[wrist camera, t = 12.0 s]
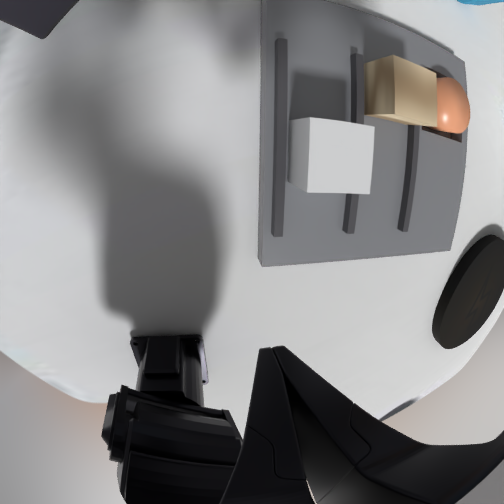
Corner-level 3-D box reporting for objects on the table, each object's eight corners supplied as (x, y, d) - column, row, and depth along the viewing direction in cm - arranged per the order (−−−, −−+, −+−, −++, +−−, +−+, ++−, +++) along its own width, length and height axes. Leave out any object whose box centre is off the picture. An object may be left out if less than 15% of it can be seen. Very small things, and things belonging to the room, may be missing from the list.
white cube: (342, 183, 18) (369, 194, 15) (287, 181, 17) (307, 192, 14) (345, 126, 16) (374, 126, 13) (289, 120, 16) (310, 117, 12)
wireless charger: (502, 211, 25) (512, 216, 23) (497, 296, 33) (504, 301, 31) (427, 283, 26) (437, 291, 24) (431, 359, 34) (438, 367, 32)
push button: (448, 135, 19) (469, 138, 17) (415, 124, 18) (437, 126, 16) (448, 87, 17) (469, 87, 15) (414, 72, 16) (435, 69, 14)
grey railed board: (441, 245, 24) (455, 253, 22) (257, 258, 21) (264, 272, 19) (454, 62, 16) (470, 61, 14) (261, -2, 13) (268, -16, 11)
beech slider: (405, 124, 17) (437, 126, 14) (364, 115, 16) (394, 114, 13) (405, 77, 15) (436, 73, 12) (363, 63, 14) (393, 54, 11)
